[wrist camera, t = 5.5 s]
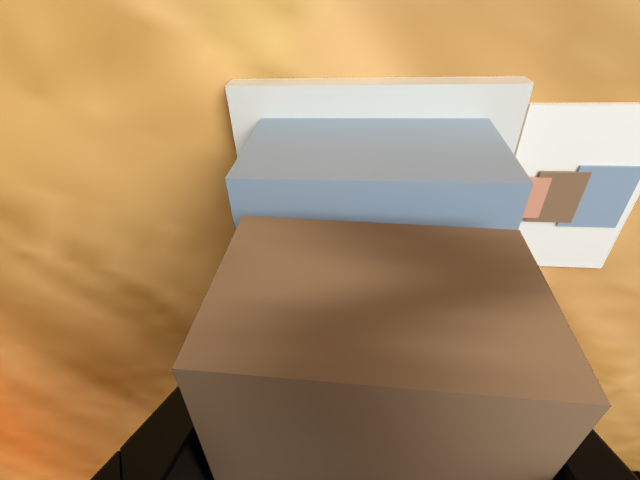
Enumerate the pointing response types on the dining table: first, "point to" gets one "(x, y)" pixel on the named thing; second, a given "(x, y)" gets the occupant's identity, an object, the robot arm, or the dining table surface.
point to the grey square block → (380, 149)
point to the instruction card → (578, 179)
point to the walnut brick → (383, 356)
